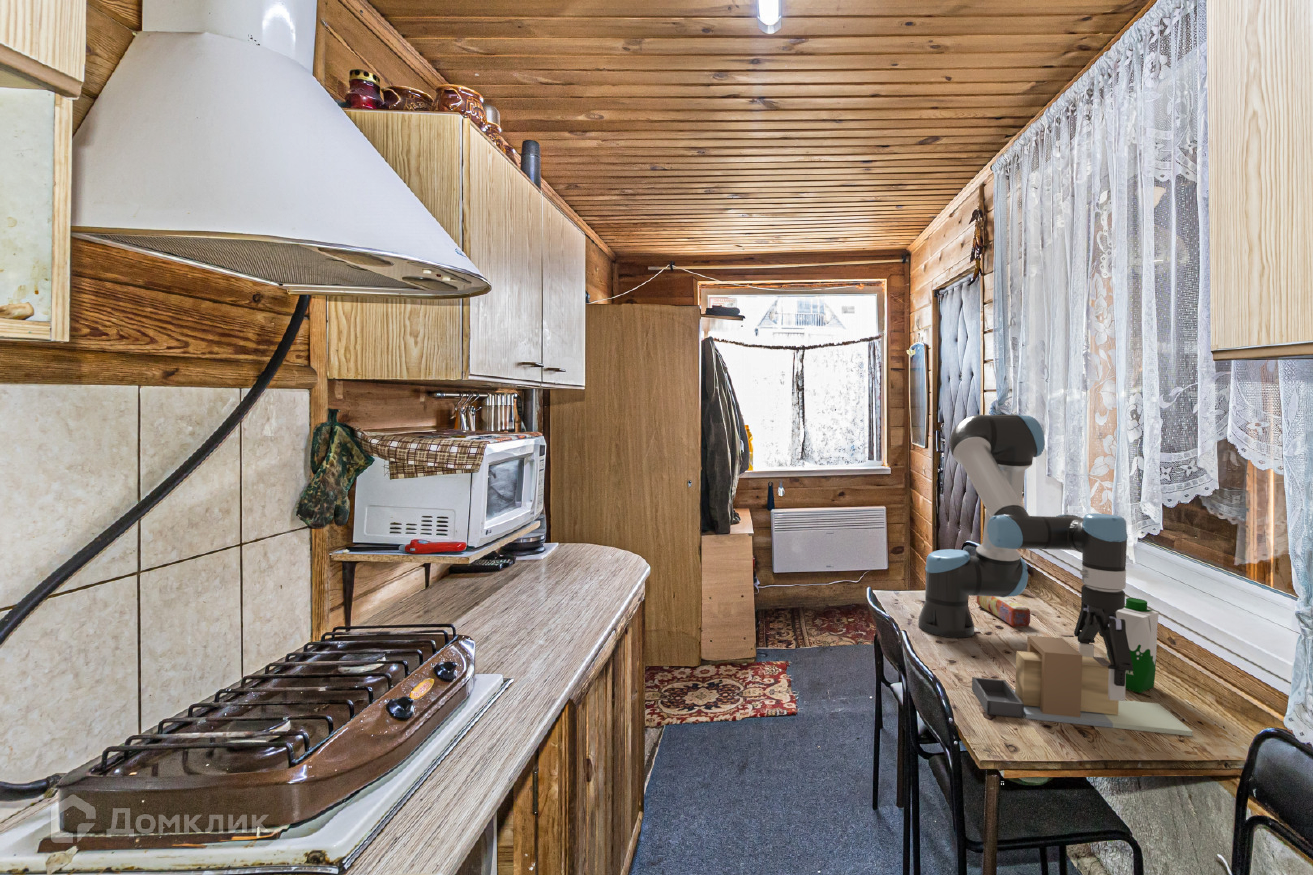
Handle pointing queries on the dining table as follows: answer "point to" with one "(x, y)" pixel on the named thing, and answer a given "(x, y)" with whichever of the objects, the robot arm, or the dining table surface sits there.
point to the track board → (1065, 695)
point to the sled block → (1091, 687)
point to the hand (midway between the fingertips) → (1100, 685)
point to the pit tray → (997, 697)
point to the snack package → (1006, 610)
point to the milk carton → (1140, 643)
